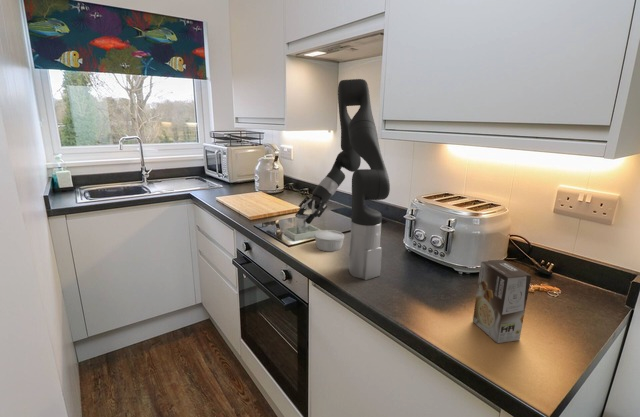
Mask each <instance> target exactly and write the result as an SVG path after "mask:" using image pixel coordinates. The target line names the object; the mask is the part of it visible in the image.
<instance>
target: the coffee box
mask: <svg viewBox="0 0 640 417" xmlns="http://www.w3.org/2000/svg"><path fill="white" fill-rule="evenodd" d="M479 266H480V267H479V273H478V280H477V288H476V296H475V301H474V302H475V303H474V311H473V316H472V322H473V323H474V324H475V326H477V327H479V328H480V329H481V330H482V331H483V332H484V333H485V334H486V335H488V336H489V338H491V339H492V340H493V341H494V342H495V343H497V344H502V343H509V342H514V341H520V340H521V335H522V334H521V333H522V328H523V324H524V323H523V322H524V318H525V312H526V306H527V303H528V302H527V301H528V297H529V296H528V295H529V290H530V285H531V280H532V274H530V273H528V272H526V271H524V270H523V269H521V268H519V267H517V266H515V265H514V264H512V263H509V262H508V261H507V260H504V259H490V260H486V261H480V265H479Z"/></svg>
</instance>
